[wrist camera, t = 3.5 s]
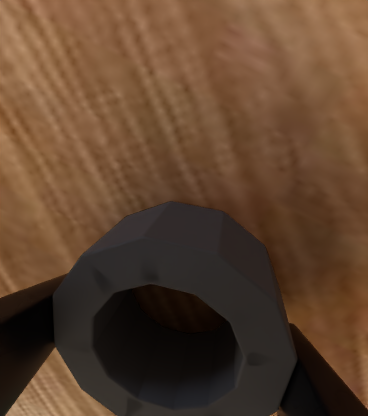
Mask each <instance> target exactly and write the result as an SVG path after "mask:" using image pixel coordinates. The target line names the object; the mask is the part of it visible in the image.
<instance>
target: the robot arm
mask: <svg viewBox="0 0 368 416" xmlns="http://www.w3.org/2000/svg"><path fill="white" fill-rule="evenodd" d="M67 274H68V273H67ZM67 274H64V275H62V276H59V277H56V278H54V279H51V280H48V281H45V282H43V283H40V284H37V285H34V286H32V287H29V288H26V289H23V290H21V291H18V292H15V293H13V294H10V295H7V296H4V297H2V298H0V416H5V415H6V414H7V412H8V411H9V409H10V408H11V407H12V405H13V404H14V403H15V401H16V400H17V398H18V397H19V396H20V394H21V393H22V392H23V390H24V389H25V388H26V386H27V385H28V383H29V382H30V381H31V379H32V378H33V377H34V375H35V374H36V372H37V371H38V370H39V368H40V367H41V366H42V364H43V363H44V362H45V360H46V359H47V357H48V356H49V355H50V353H51V352H52V351H53V349H54V348H55V344H54V324H53V297H52V296H53V294H54V292H55V291H56V290H57V288H58V287H59V285H60V284H61V283H62V281H63V280H64V279H65V277H66V276H67ZM288 323H289V322H288ZM289 327H290V331H291V335H292V338H293V342H294V346H295V350H296V354H297V358H298V359H297V363H296V365H295V368H294V371H293V373H292V376H291V378H290V381H289V383H288V386H287V388H286V391H285V393H284V396H283V398H282V401H281V403H280V406H279V410H278V411H277V415H278V416H368V410H367V408H366V407H365V406H364V405H363V404H362V403H361V401H360V400H359V399H358V398H357V397H356V396H355V394H354V393H353V392H352V391H351V390H350V389H349V387H348V386H347V385H346V384H345V383H344V382H343V380H342V379H341V378H340V377H339V376H338V375H337V373H336V372H335V371H334V370H333V369H332V368H331V366H330V365H329V364H328V363H327V362H326V361H325V359H324V358H323V357H322V356H321V355H320V354H319V352H318V351H317V350H316V349H315V348H314V347H313V345H312V344H311V343H310V342H309V341H308V340H307V338H306V337H305V336H304V335H303V334H302V332H301V331H300V330H299V329H298V328H297V327H296V326H295V325H294V324H293V323H289Z"/></svg>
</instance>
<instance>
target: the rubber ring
mask: <svg viewBox="0 0 368 416" xmlns="http://www.w3.org/2000/svg"><path fill="white" fill-rule="evenodd" d="M148 284H154V285H158V286H162V287H166V288H170V289H174V290H178V291H182V292H187V293H191V294H195V295H196V296H197V297H199V298H200V299H201V300H202V301H204V302H205V303H206V304H207V305H209V306H210V307H211V308H212V309H214V310H215V311H216V312H217V313H219V314H220V315H221V316H222V317H224V318H225V319H226V320H227V321H226V322H225V323H223V324H222V325H221V326H220V327H218V328H217V329H216V330H213V331H207V332H201V333H196V334H186V333H182V332H179V331H175V330H171V329H167V328H164V327H162V326H161V325H159V324H158V323H157V322H155V321H154V320H153V319H152V318H150V317H149V316H148V315H146V314H145V313H144V312H143V311H141V309H140V307H139V305H138V303H137V301H136V299H135V297H134V295H133V293H132V291H131V289H132V288H136V287H140V286H144V285H148ZM52 297H53V324H54V344H55V347H56V348H57V350H58V352H59V353H60V355H61V356H62V358H63V360H64V361H65V363H66V365H67V366H68V368H69V370H70V371H71V373H72V375H73V376H74V378H75V379H76V381H77V383H78V384H79V386H80V387H81V389H82V390H83V391H85V392H86V393H87V394H89V395H90V396H91V397H93V398H94V399H95V400H97V401H98V402H99V403H101V404H102V405H103V406H105V407H106V408H107V409H109V410H110V411H111V412H113V413H114V414H115V415H117V416H269V415H271V414H273V413H275V412H276V411H278V410H279V406H280V403H281V401H282V398H283V396H284V393H285V391H286V388H287V386H288V383H289V381H290V378H291V376H292V373H293V371H294V368H295V365H296V363H297V359H298V358H297V354H296V350H295V346H294V342H293V338H292V335H291V331H290V327H289V323H288V319H287V315H286V311H285V307H284V303H283V300H282V296H281V292H280V288H279V285H278V282H277V279H276V276H275V273H274V271H273V268H272V265H271V262H270V259H269V256H268V253H267V250H266V247H265V246H264V244H262V243H261V242H260V241H259V240H258V239H256V238H255V237H254V236H253V235H252V234H250V233H249V232H248V231H247V230H245V229H244V228H243V227H242V226H241V225H239V224H238V223H237V222H236V221H235V220H233V219H232V218H231V217H230V216H229V215H227V214H226V213H225V212H223V211H219V210H214V209H209V208H204V207H198V206H193V205H188V204H183V203H178V202H173V201H170V202H167V203H164V204H161V205H158V206H155V207H152V208H149V209H146V210H143V211H140V212H137V213H134V214H131V215H128V216H126V217H125V218H124V219H123V220H121V221H120V222H119V223H118V224H117V225H116V226H114V227H113V228H112V229H111V230H110V231H109V232H107V233H106V234H105V235H104V236H103V237H102V238H101V239H99V240H98V241H97V242H96V243H95V244H94V245H92V246H91V247H90V248H89V249H88V250H87V251H85V252H84V253H83V254H82V255H81V256H80V258H79V259H78V261H77V262H76V263H75V265H74V266H73V268H72V269H71V270H70V272H69V273H68V274H67V276H66V277H65V279H64V280H63V281H62V283H61V284H60V285H59V287H58V288H57V290H56V291H55V292H54V294H53V296H52Z"/></svg>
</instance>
